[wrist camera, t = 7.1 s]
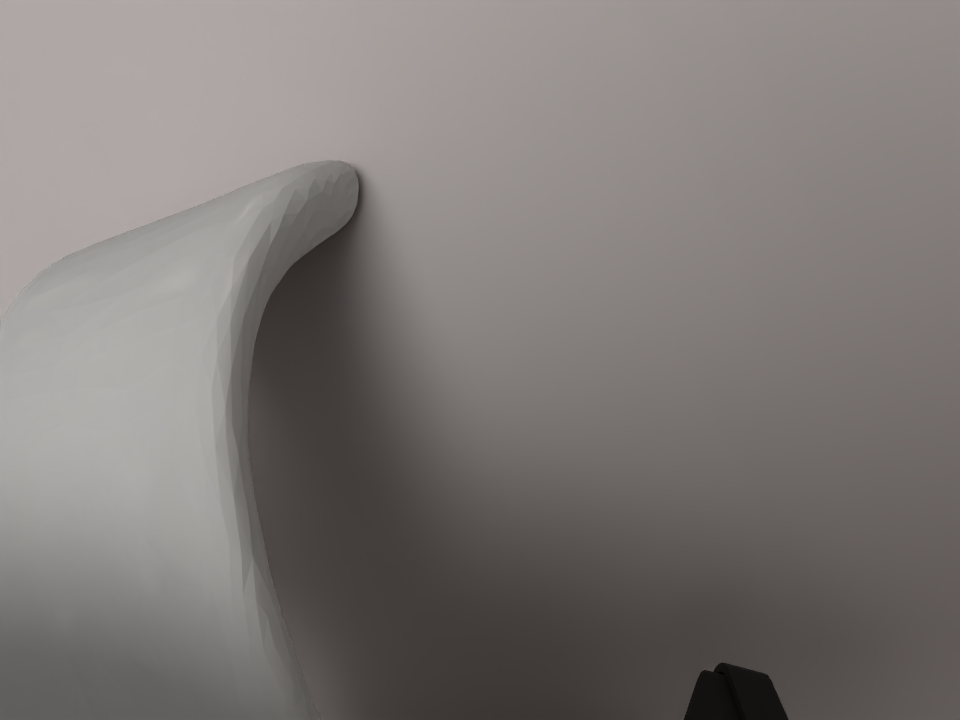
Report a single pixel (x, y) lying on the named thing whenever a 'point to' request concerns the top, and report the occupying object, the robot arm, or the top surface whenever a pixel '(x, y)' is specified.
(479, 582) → the top surface
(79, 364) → the spoon rest
